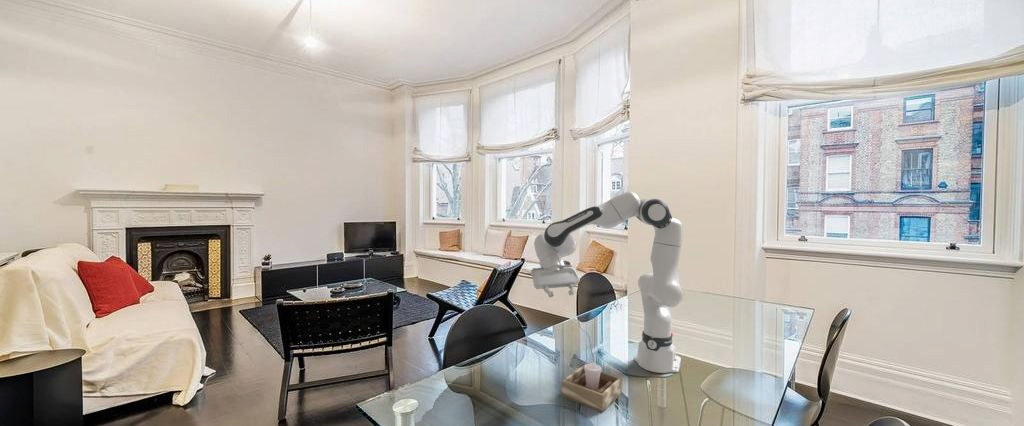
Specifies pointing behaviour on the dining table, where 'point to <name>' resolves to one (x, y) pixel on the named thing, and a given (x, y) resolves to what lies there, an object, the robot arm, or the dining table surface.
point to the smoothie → (592, 374)
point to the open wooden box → (592, 390)
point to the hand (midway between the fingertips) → (561, 295)
